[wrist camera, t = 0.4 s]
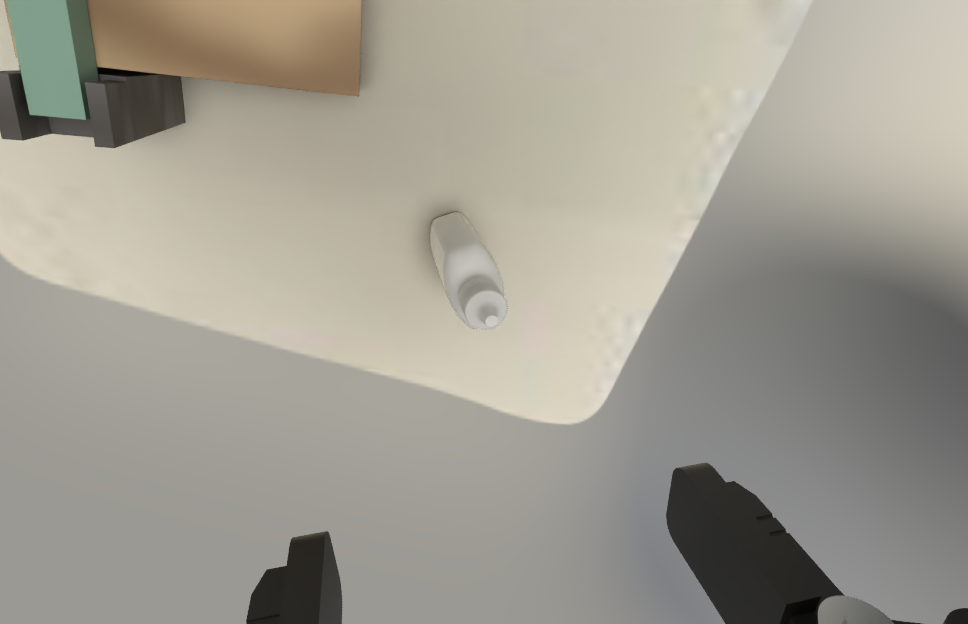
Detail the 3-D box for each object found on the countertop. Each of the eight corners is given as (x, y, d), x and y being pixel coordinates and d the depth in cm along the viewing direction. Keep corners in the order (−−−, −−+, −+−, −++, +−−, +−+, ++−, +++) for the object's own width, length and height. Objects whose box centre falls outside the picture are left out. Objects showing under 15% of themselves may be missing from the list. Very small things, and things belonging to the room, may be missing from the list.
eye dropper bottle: (418, 280, 39) (440, 363, 28) (433, 205, 37) (463, 264, 26) (475, 289, 40) (516, 371, 30) (493, 217, 38) (545, 278, 28)
